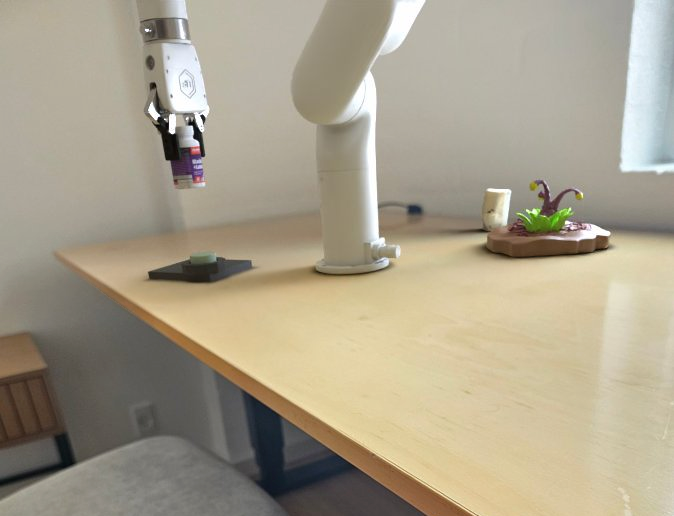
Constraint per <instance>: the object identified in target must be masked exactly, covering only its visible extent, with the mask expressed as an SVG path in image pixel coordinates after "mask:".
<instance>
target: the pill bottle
mask: <svg viewBox="0 0 674 516" xmlns="http://www.w3.org/2000/svg"><path fill="white" fill-rule="evenodd" d="M193 133H194V132H193V126H186V125H181V126H175V132H174V134H178V138H179V144H180V150H181V156H182V158H181V160H172V161H169V162H170V169H171V175H172V180H173V186H174V189H175V190H189V189H190V190H191V189H199V188H204V187H205V186H206V181H205V174H204V166H203V160H202V158H203V157H201V151H200V146H199V142H198V141H197V140H195V139H193V135H194V134H193Z"/></svg>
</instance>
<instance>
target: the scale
mask: <svg viewBox="0 0 674 516" xmlns="http://www.w3.org/2000/svg"><path fill="white" fill-rule="evenodd" d="M216 259H217V261H215V262H211V263H205V264H191V262H190V258H189V259H185V260H181V261H179V262H175V263H172V264H169V265H165V266H162V267H159V268H155V269H152V270H148V271H147V274H148V275H147V276H148V280H155V281H156V280H159V281H177V282H178V281H179V282H196V283H197V282H199V283H213V282H216V281H219V280H221V279H224V278H227V277H230V276H233V275H235V274H238V273H241V272H243V271H247V270H250V269H252V268H253V263H252V260H251V259H229V258H225V257H222V256H216Z"/></svg>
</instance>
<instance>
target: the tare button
mask: <svg viewBox="0 0 674 516" xmlns="http://www.w3.org/2000/svg"><path fill="white" fill-rule="evenodd" d="M216 257H217V254H216V252H215V251H199V252H193V253H191V254H189V259H190V262H191V264H205V263H211V262H215V261H217V259H216Z"/></svg>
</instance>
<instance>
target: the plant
mask: <svg viewBox="0 0 674 516" xmlns="http://www.w3.org/2000/svg"><path fill="white" fill-rule="evenodd" d="M540 185H542V187H543V190H540V191H539V192H538V194H537V199H538V200H539V201H540V202H541V201H543V204H542V206H541V209H540V208H537V207H534V208H532V210H529V209H525V213H526V214H527V215H528V216H529V218H528V217H527V216H526V215H524V214H523V213H519V212H516V213H515V214H516V216H518V217H519V218H518V219H517V221H516V222H513V223H511V224H507V225H506V226H503V227H501V228H497V229H494V230H492V231H489V232H488V234H487V236H486V248H487V250H489V251H490V252H492V253H497V254H504V255H507V256H509V257H512V258H527V257H539V256H541V257H544V256H545V257H547V256H558V255H576V254H581V253H582V254H583V253H593V252H594V251H595V250H601V249H602V250H603V249H604V250H605V249H607V248H609V246H610V243H611V232H610V231H608V230H605V229H602V228H601V227H599V226H597V225H595V224H592V223H584V220H582V221H573V222H572V221H571V220H569V218H570V217H572V216H573V214H575V211H572V212H570V211H571V210H572V208H571V207H566V208H563V209H561V210H559V206H560V203H561V201H562V200H563V197H564V196H565V195H566V194H568V193H571V192H574V195H575V199H576V200H577V201H579V202H581V201H582V200H583V199H584V193H583V192H582V191H581V190H580V189H577V188H574V187H570V188H566V189H564V190H562V191H560V192H559V194H557V196H556V197H555V198H554V199H553V200H551V190H550V187H549V186H548V184H547V183H546V181H545V180H544V179H536V180H532V181H531V182H530V184H529V186H528V188H529V190H530V192H531V191H532V192H535V191H536V190H538V188H539V186H540Z"/></svg>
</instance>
